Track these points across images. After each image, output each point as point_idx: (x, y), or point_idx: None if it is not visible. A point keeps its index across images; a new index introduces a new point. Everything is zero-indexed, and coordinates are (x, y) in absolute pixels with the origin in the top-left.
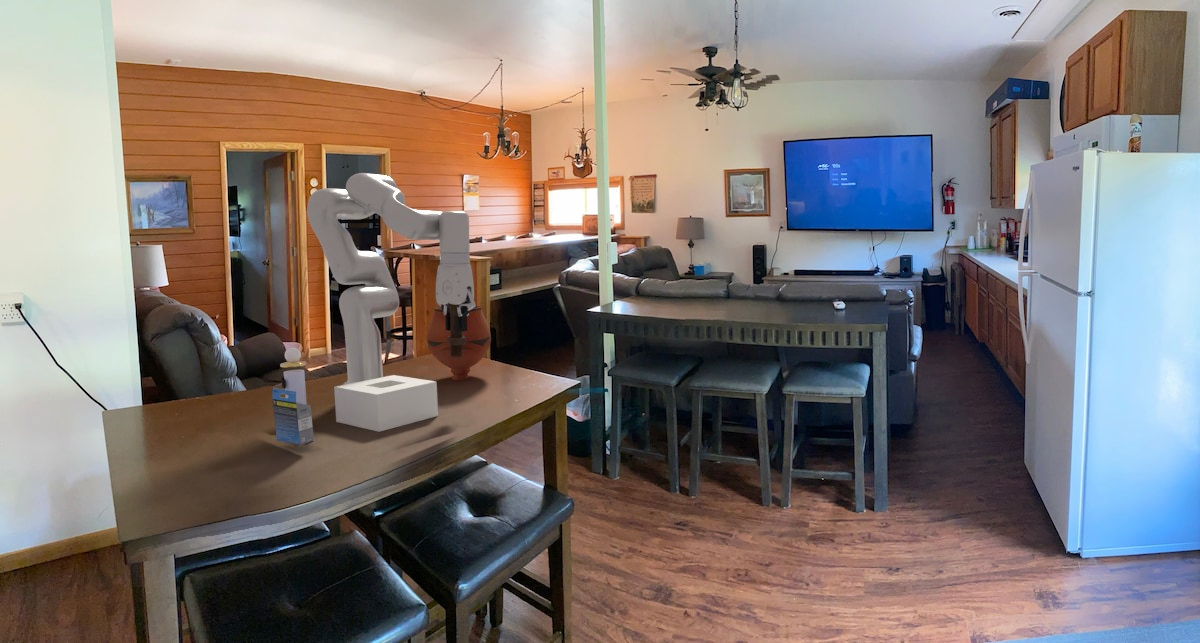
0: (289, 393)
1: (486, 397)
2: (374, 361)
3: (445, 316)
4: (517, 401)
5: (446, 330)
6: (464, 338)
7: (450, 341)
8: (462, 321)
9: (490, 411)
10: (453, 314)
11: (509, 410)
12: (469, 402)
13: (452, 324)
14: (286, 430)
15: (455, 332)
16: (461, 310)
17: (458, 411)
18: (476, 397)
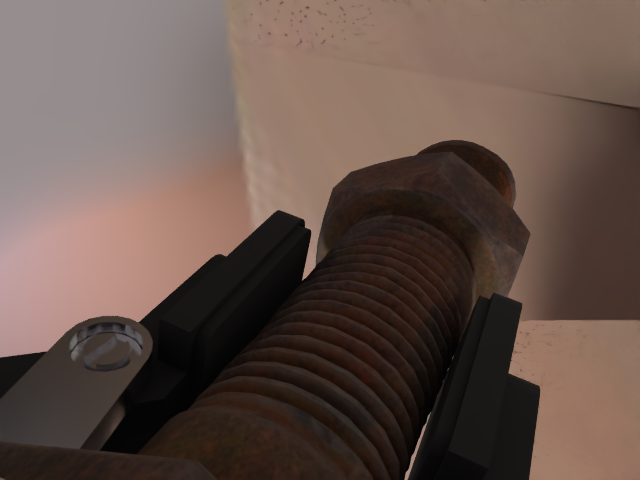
0: None
1: (517, 360)
2: None
3: (489, 451)
4: None
5: (516, 304)
6: (316, 263)
7: (430, 162)
8: (167, 301)
9: (360, 124)
10: (253, 398)
11: (293, 159)
12: (554, 265)
13: (352, 298)
14: None
15: (352, 241)
16: (20, 392)
17: (517, 83)
18: (568, 358)
